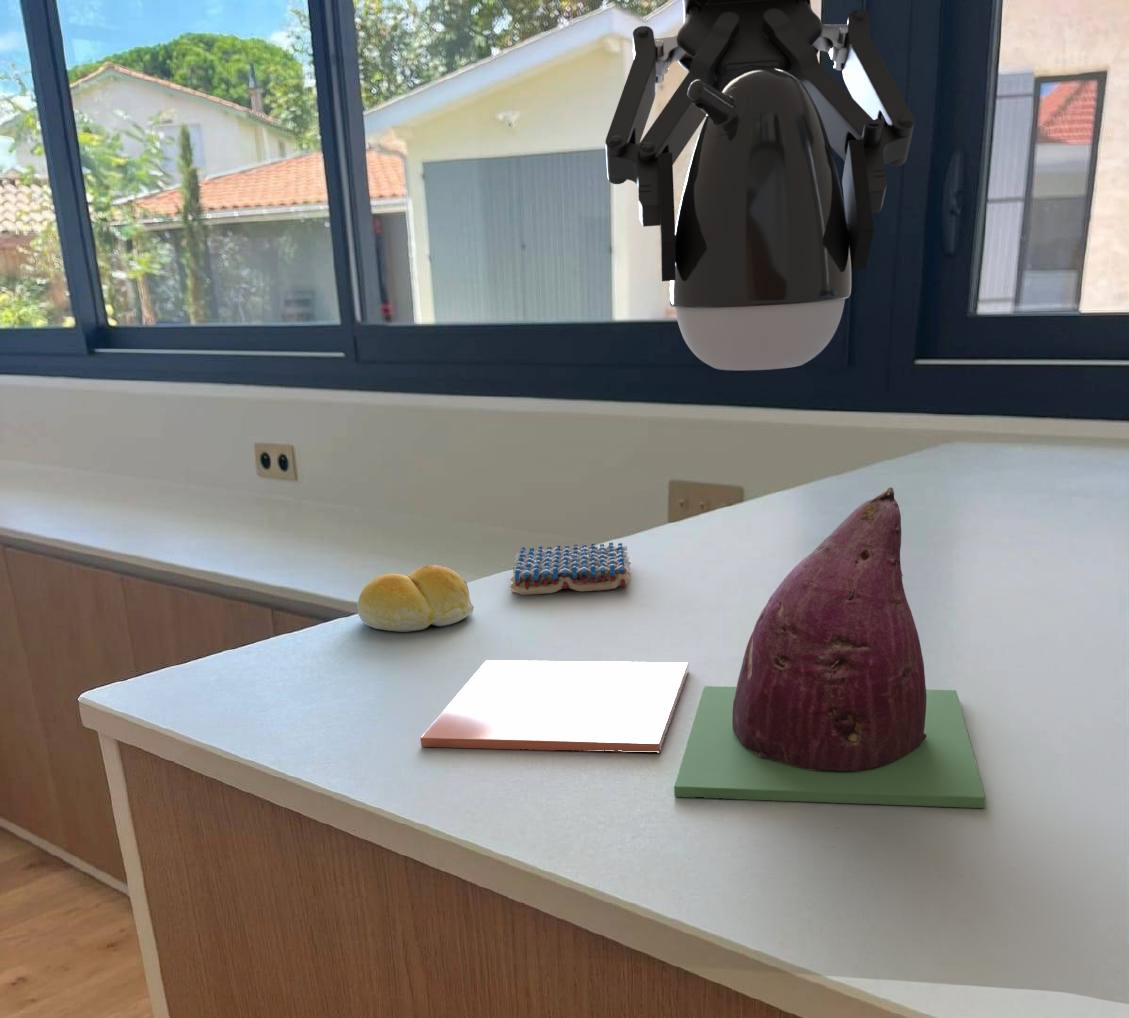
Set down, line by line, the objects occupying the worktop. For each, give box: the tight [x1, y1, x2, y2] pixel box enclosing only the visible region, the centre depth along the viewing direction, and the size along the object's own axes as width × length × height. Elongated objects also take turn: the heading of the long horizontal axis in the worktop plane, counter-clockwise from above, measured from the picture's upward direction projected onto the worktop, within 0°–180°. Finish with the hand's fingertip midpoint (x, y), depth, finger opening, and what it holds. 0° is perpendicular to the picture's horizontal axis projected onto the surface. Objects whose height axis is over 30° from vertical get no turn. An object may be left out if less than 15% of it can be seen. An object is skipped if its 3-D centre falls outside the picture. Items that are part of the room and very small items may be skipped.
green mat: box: [673, 685, 986, 809], centre depth 64 cm, size 15×15×1 cm
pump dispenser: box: [669, 66, 852, 371], centre depth 64 cm, size 10×10×15 cm
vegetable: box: [732, 487, 927, 772], centre depth 61 cm, size 10×10×15 cm
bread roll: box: [356, 564, 475, 633], centre depth 91 cm, size 8×9×4 cm
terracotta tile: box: [419, 660, 690, 752], centre depth 71 cm, size 14×14×1 cm
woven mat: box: [508, 542, 633, 596], centre depth 100 cm, size 10×11×2 cm
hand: (765, 256), depth 62 cm, fingers closed on pump dispenser, 10 cm apart
